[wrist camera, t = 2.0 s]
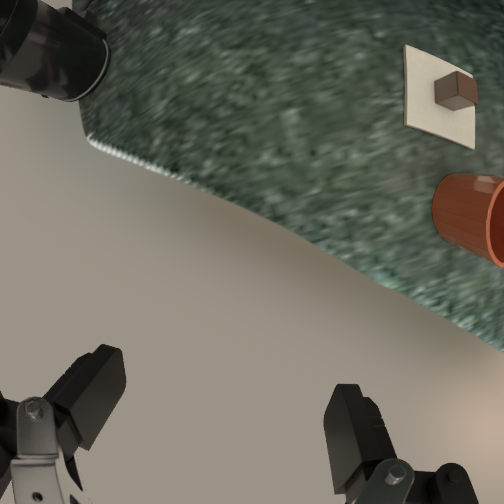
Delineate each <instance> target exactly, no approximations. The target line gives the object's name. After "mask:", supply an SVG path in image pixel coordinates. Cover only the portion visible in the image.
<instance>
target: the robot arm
mask: <svg viewBox="0 0 504 504" xmlns="http://www.w3.org/2000/svg"><path fill="white" fill-rule="evenodd" d="M92 1H93V0H86V1H85V2H84V4H83V5H82V6H81V8H80V9H79V11H78V12H77V13H75V12H74V11H72V10H71V9H69V8H68V7H62V8H59V9H57V10H56V9H54V8H53V7H51V6H49V5H47V4H46V3H44V2H42V1H41V0H0V86H5V87H10V88H15V89H20V90H25V91H29V92H33V93H37V94H41V95H42V96H43V97H45V98H48V96H50V97H53V98H56V99H59V100H62V101H65V102H73V101H77V100H79V99H81V98H83V97H85V96H86V95H87V94H89V93H90V92H91V91H92V90H93V89H94V88H95V87H96V86H97V85H98V83H99V82H100V81H101V79H102V77H103V76H104V74H105V72H106V70H107V67H108V64H109V60H110V48H109V45H108V43H107V42H106V41H105V40H106V34H105V33H104V32H102V31H101V30H99V29H98V28H97V27H95V26H94V22H95V19H96V16H95V15H94V14H93V13H91V12H90V11H89V10H86V9H87V7H88V6H89V5H90V4H91V2H92ZM125 387H126V375H125V368H124V362H123V355H122V351H121V350H120V349H119V348H115V347H112V346H109V345H105V344H101V345H100V346H99V347H98V348H97V349H96V350H95V351H94V352H93V354H92V353H87V354H85V355H83V356H81V357H79V358H78V359H77V360H76V361H75V362H74V363H73V364H72V365H71V367H69V369H68V370H66V372H65V374H63V375H62V376H61V377H60V378H59V379H58V380H57V382H56V383H55V384H54V385H53V386H52V387H51V388H50V390H49V391H48V392H47V393H46V394H45V395H44V396H43V397H42V398H41V397H30V398H27V399H25V400H23V401H22V402H21V403H20V402H15V401H11V400H8V399H5V398H4V397H3V396H2V393H1V391H0V499H1V497H2V495H3V494H4V492H5V490H6V488H7V486H8V484H9V483H10V481H11V479H12V486H13V493H14V500H15V504H92V503H91V502H90V499H89V497H88V495H87V492H86V489H85V486H84V482H83V479H82V475H81V472H80V468H79V464H78V460H77V456H76V453H75V451H76V450H77V448H78V446H79V447H81V448H83V449H85V450H88V451H89V450H90V448H91V446H92V444H93V443H94V441H95V439H96V437H97V436H98V434H99V432H100V431H101V429H102V428H103V426H104V424H105V422H106V421H107V419H108V417H109V416H110V414H111V412H112V411H113V409H114V408H115V406H116V404H117V403H118V401H119V399H120V398H121V396H122V394H123V393H124V390H125ZM381 417H382V416H381V414H380V411H379V408H378V406H377V405H376V404H375V403H374V402H373V401H372V400H371V399H370V398H369V397H363V395H362V392H361V390H360V387H359V385H358V384H337V385H336V387H335V390H334V392H333V394H332V397H331V399H330V402H329V404H328V406H327V409H326V411H325V415H324V431H325V436H326V442H327V448H328V454H329V460H330V467H331V473H332V480H333V486H334V493H335V494H345V495H346V501H345V502H344V503H343V504H479V503H478V500H477V497H476V494H475V492H474V489H473V486H472V484H471V481H470V479H469V476H468V474H467V472H466V470H465V469H464V468H463V467H462V466H460V465H458V464H456V463H447V464H444V465H442V466H441V467H440V468H439V469H438V470H437V471H436V472H425V471H414V470H413V469H412V467H411V466H410V465H409V464H408V463H407V462H405V461H403V460H401V459H398V458H397V456H396V453H395V450H394V448H393V445H392V442H391V440H390V437H389V434H388V432H387V429H386V427H385V424H384V421H383V419H382V418H381Z"/></svg>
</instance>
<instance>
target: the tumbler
mask: <svg viewBox="0 0 504 504" xmlns="http://www.w3.org/2000/svg"><path fill="white" fill-rule="evenodd" d="M432 215H433V221H434V224H435V227H436V229H437V231H438V233H439V234H440V236H441V237H442V238H443V239H444V240H446V241H448V242H449V243H451V244H453V245H455V246H457V247H460V248H462V249H464V250H466V251H468V252H470V253H472V254H474V255H476V256H478V257H480V258H482V259H484V260H486V261H488V262H490V263H492V264H494V265H496V266H498V267H501V268H504V176H495V175H484V174H470V173H453V174H450V175H448V176H447V177H445V178H444V179H443V180H442V181H441V182H440V184H439V185H438V187H437V189H436V191H435V194H434V198H433V204H432Z"/></svg>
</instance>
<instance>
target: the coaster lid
mask: <svg viewBox="0 0 504 504" xmlns="http://www.w3.org/2000/svg"><path fill="white" fill-rule="evenodd" d="M403 53H404V80H405V104H404V125H405V126H408V127H411V128H414V129H417V130H420V131H423V132H426V133H429V134H432V135H435V136H438V137H440V138H443V139H446V140H448V141H451V142H454V143H456V144H459V145H461V146H463V147H466V148H468V149H471V150H474V149H475V106H476V105H478V90H477V81H476V80H474V79H473V78H472V75H471V74H469V73H467V72H465V71H464V70H462V69H460V68H458V67H456V66H454V65H452V64H450V63H448V62H446V61H443V60H441V59H439V58H437V57H435V56H432V55H430V54H428V53H426V52H423V51H421V50H418V49H416V48H413V47H411V46H408V45H405V46H404V47H403Z"/></svg>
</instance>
